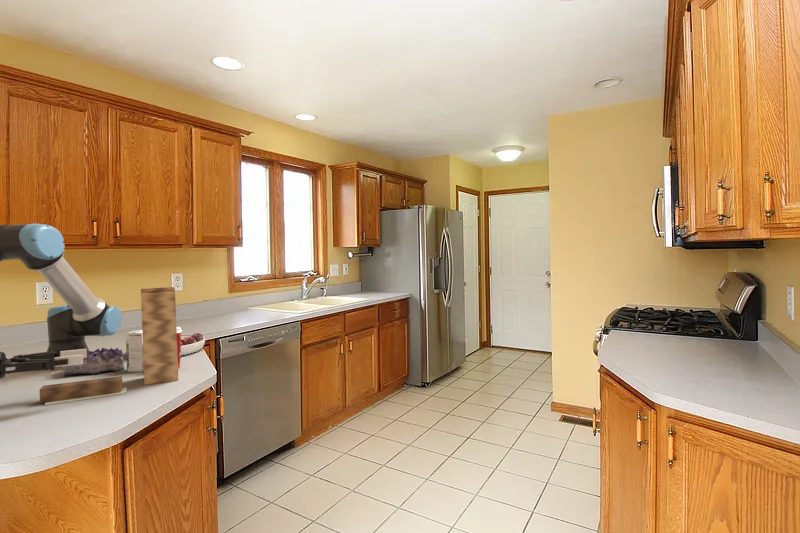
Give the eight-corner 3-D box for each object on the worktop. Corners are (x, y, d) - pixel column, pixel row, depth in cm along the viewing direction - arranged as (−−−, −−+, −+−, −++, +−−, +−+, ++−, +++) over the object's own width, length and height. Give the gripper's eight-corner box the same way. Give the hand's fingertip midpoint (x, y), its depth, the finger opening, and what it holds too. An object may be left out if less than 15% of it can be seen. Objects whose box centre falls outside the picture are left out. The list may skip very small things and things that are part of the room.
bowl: (118, 364, 175) (117, 344, 174) (137, 348, 203) (136, 331, 203) (201, 357, 184) (200, 338, 184) (208, 343, 213) (207, 326, 212)
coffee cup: (188, 366, 169) (186, 327, 169) (170, 372, 162) (169, 331, 161) (171, 364, 172) (169, 326, 172) (153, 370, 164) (151, 330, 164)
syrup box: (134, 368, 168) (132, 330, 167) (150, 367, 168) (149, 329, 168) (126, 372, 162) (124, 332, 162) (143, 371, 163) (141, 332, 162)
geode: (129, 365, 173) (128, 340, 172) (121, 377, 162) (120, 351, 161) (67, 368, 167) (66, 342, 165) (54, 381, 156) (53, 353, 154)
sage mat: (44, 405, 128) (44, 404, 128) (48, 399, 133) (48, 398, 133) (126, 393, 138) (125, 392, 138) (126, 388, 143) (126, 387, 143)
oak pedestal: (144, 384, 147) (140, 290, 145) (144, 377, 155) (141, 288, 154) (178, 380, 152) (175, 288, 150) (176, 373, 160) (173, 286, 159)
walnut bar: (40, 402, 129) (39, 389, 129) (44, 398, 133) (43, 385, 133) (120, 392, 138) (120, 379, 138) (122, 388, 142) (121, 376, 142)
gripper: (-3, 371, 133) (89, 360, 144) (-28, 390, 115) (80, 377, 126) (-4, 346, 133) (88, 337, 144) (-29, 361, 114) (79, 350, 125)
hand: (84, 356), depth 135 cm, fingers open, 8 cm apart
